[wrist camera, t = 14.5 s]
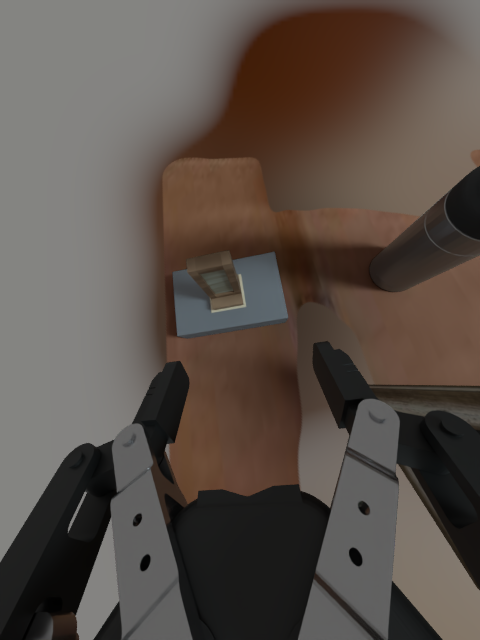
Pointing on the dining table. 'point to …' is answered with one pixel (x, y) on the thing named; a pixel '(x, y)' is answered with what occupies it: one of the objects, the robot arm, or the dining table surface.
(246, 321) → the display step
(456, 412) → the picture frame
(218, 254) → the walnut frame
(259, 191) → the dining table surface
